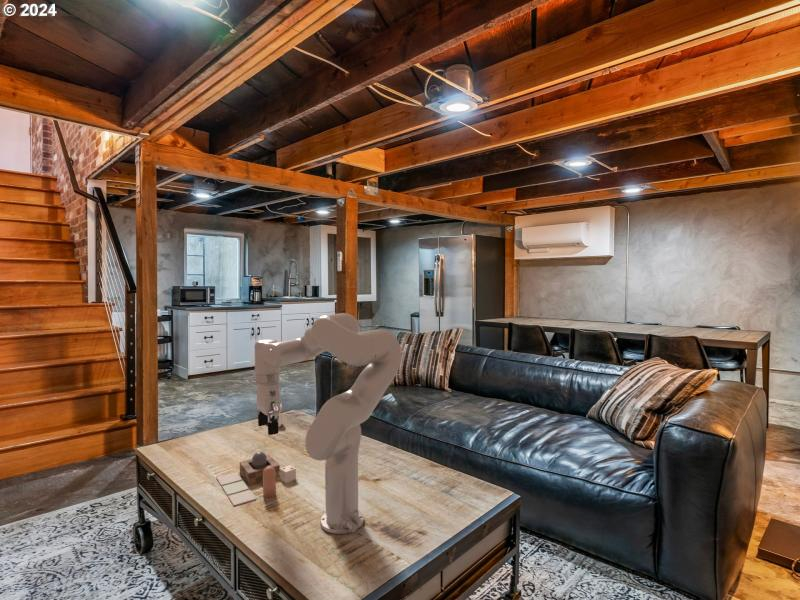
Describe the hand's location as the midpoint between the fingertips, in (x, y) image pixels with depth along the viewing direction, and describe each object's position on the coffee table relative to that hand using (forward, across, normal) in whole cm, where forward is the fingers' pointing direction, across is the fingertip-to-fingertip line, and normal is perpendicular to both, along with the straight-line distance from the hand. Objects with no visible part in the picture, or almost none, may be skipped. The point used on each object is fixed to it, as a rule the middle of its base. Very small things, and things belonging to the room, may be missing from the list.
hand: (268, 429), depth 142 cm
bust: (+22, +64, -25) cm, 72 cm away
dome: (+20, +16, -2) cm, 26 cm away
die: (+22, +7, -9) cm, 25 cm away
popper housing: (+22, +16, -2) cm, 28 cm away
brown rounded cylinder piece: (+22, 0, 0) cm, 22 cm away
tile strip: (+22, +11, +8) cm, 26 cm away
